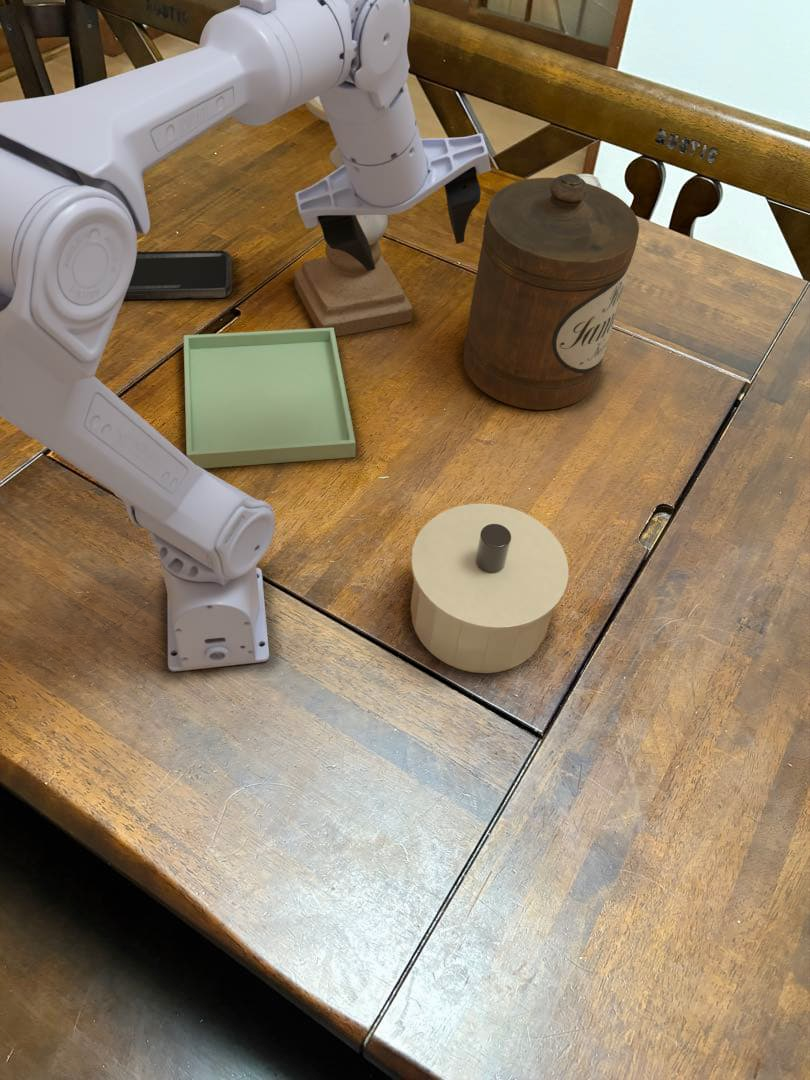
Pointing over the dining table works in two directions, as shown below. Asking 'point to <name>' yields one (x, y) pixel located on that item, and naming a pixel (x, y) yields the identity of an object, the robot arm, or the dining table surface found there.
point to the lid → (489, 566)
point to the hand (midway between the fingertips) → (413, 246)
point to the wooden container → (547, 290)
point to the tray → (265, 398)
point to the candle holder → (351, 278)
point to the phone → (181, 275)
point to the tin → (473, 639)
